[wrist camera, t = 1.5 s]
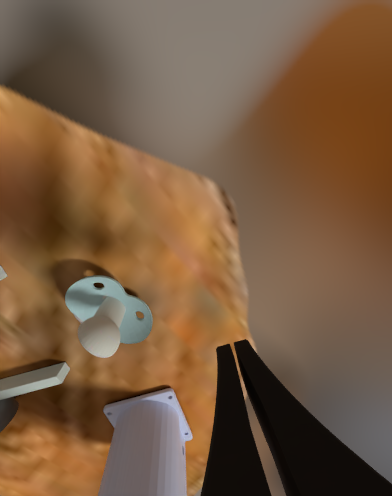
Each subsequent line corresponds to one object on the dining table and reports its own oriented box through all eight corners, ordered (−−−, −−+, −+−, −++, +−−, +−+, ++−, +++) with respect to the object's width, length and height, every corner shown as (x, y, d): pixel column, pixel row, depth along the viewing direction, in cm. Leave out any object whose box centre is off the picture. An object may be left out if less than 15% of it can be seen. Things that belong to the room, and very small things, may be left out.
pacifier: (123, 342, 20) (163, 306, 18) (97, 414, 14) (154, 368, 12) (57, 301, 17) (98, 257, 16) (-6, 364, 12) (51, 304, 10)
